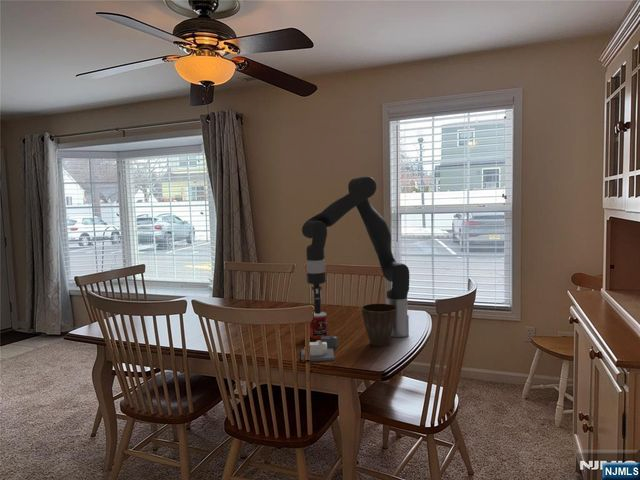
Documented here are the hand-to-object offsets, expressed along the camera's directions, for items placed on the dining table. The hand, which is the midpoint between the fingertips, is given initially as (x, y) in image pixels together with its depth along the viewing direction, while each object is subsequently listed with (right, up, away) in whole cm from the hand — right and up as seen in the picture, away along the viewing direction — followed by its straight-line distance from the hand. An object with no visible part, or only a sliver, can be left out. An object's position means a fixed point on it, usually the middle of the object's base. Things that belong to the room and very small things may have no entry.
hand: (317, 310), depth 180 cm
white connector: (-1, -17, +1) cm, 17 cm away
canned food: (+1, -16, +25) cm, 30 cm away
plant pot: (+27, -17, +14) cm, 34 cm away
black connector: (+4, -17, +11) cm, 21 cm away
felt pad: (0, -18, +1) cm, 18 cm away
